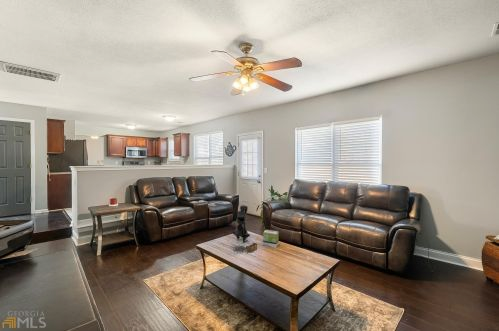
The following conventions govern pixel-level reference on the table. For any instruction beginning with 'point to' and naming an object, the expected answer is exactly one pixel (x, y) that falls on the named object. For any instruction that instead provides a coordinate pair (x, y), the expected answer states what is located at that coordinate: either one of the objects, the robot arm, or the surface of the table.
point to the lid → (240, 240)
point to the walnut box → (251, 248)
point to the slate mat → (240, 249)
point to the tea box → (270, 238)
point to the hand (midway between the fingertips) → (241, 242)
